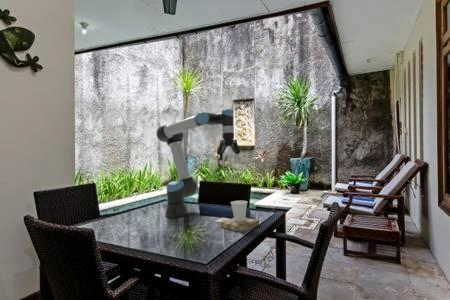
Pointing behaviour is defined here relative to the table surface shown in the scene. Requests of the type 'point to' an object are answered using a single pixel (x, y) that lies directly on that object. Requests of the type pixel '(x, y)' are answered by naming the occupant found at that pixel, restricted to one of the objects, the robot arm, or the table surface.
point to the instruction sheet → (221, 219)
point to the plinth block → (240, 224)
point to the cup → (239, 210)
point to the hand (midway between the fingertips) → (229, 164)
